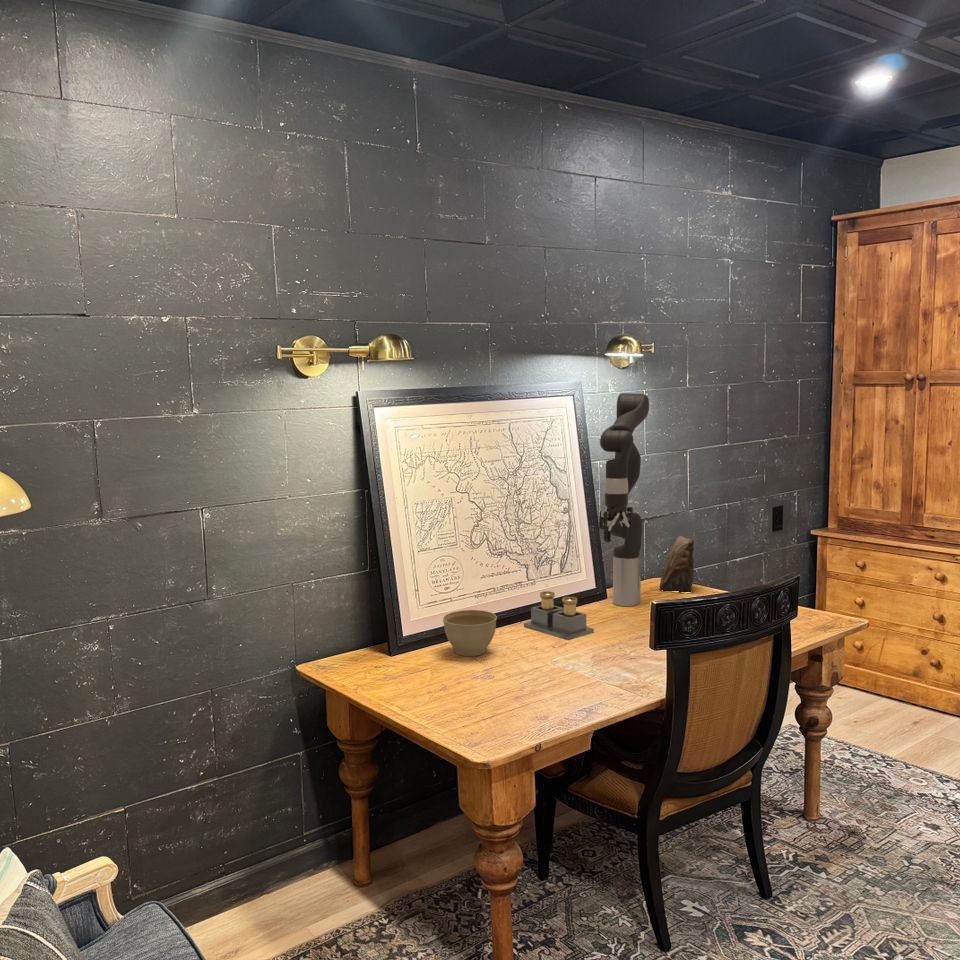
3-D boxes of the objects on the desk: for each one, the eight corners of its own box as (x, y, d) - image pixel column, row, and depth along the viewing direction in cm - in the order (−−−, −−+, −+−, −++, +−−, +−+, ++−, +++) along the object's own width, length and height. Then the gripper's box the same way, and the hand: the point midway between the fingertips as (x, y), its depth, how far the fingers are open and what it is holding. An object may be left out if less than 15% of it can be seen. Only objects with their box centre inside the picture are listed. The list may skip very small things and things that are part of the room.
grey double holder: (549, 619, 307) (549, 587, 306) (593, 632, 292) (593, 598, 291) (523, 626, 299) (523, 593, 298) (568, 639, 284) (568, 605, 283)
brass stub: (569, 625, 295) (569, 596, 294) (580, 629, 292) (580, 598, 290) (559, 628, 292) (559, 598, 291) (570, 632, 289) (570, 601, 287)
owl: (674, 584, 354) (675, 533, 351) (704, 589, 345) (705, 537, 343) (657, 590, 345) (658, 538, 342) (687, 596, 336) (688, 542, 334)
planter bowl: (438, 646, 280) (437, 612, 278) (488, 641, 284) (488, 607, 282) (450, 662, 264) (449, 626, 263) (503, 657, 268) (503, 621, 267)
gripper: (621, 488, 304) (621, 535, 306) (593, 492, 295) (592, 541, 297) (639, 490, 298) (638, 538, 300) (610, 494, 289) (610, 544, 291)
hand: (616, 540), depth 299 cm, fingers open, 8 cm apart
